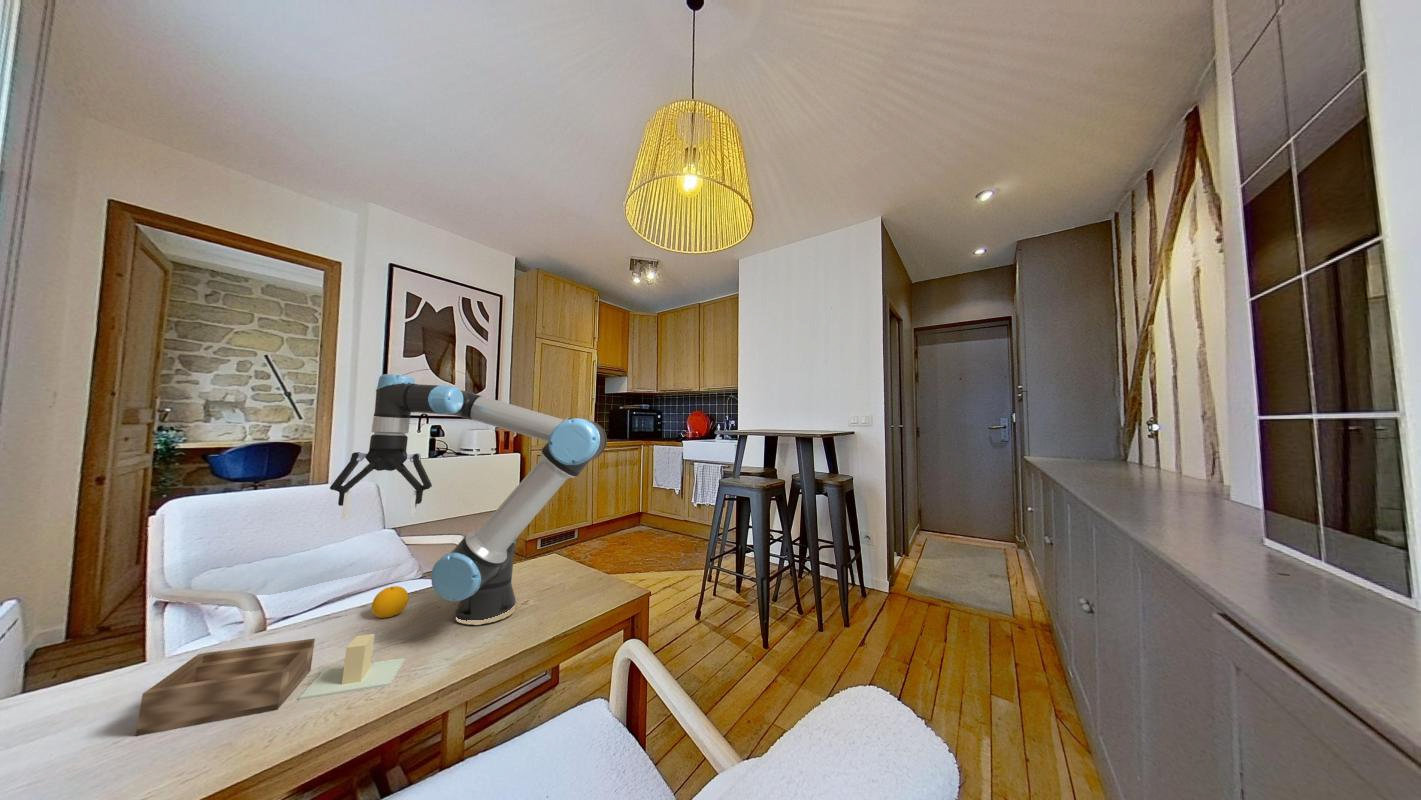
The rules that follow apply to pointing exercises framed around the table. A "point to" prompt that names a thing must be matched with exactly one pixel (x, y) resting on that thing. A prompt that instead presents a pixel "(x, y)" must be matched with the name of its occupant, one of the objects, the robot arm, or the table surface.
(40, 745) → the table surface
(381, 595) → the orange
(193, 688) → the case
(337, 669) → the lid
